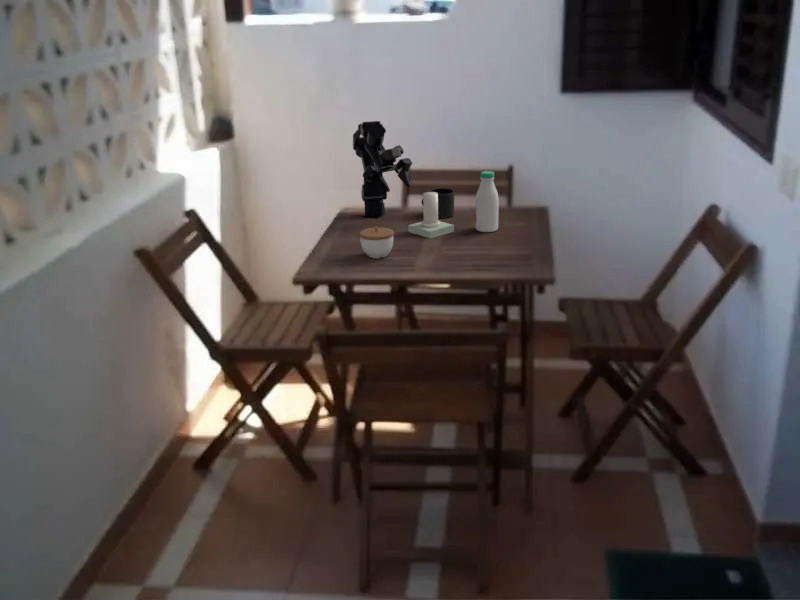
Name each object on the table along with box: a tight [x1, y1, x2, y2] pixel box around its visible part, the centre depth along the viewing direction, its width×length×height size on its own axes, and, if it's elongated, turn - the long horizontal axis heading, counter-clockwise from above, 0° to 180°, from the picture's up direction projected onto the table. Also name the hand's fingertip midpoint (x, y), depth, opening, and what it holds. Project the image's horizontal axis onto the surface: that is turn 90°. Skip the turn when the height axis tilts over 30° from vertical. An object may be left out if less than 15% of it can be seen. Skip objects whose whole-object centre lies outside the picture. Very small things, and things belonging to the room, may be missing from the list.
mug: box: [421, 187, 455, 219], centre depth 317 cm, size 9×12×9 cm
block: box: [408, 220, 455, 239], centre depth 298 cm, size 11×11×2 cm
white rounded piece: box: [421, 191, 441, 228], centre depth 296 cm, size 6×6×11 cm
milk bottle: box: [475, 170, 499, 233], centre depth 296 cm, size 8×8×20 cm
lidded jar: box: [359, 226, 395, 259], centre depth 274 cm, size 11×11×9 cm
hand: (399, 188), depth 301 cm, fingers open, 9 cm apart
